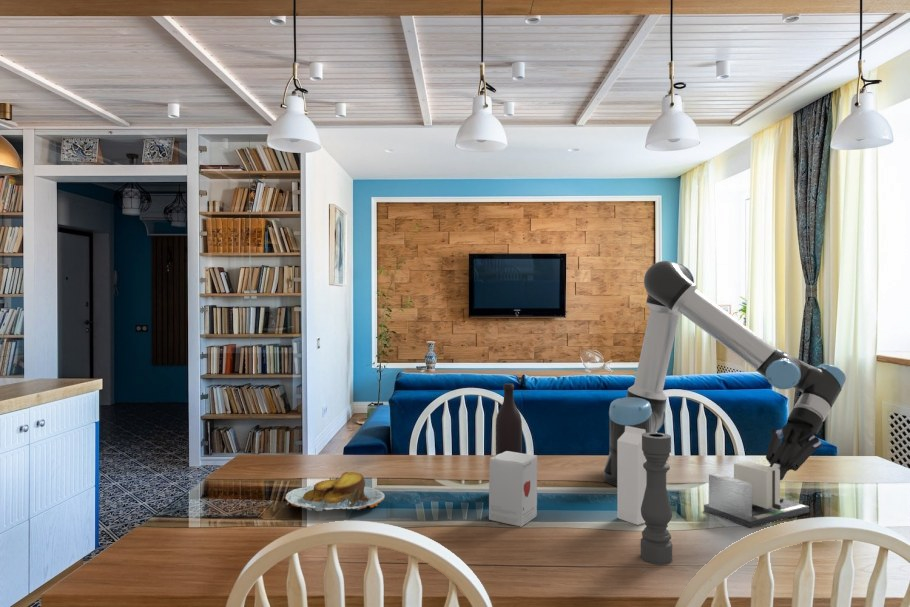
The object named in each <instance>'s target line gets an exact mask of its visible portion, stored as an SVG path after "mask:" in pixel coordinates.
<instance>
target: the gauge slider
mask: <svg viewBox="0 0 910 607" xmlns="http://www.w3.org/2000/svg"><path fill="white" fill-rule="evenodd" d="M769 466H770V465H769ZM769 466H768V465H765V464H760V463H757V462H752V461H751V460H750V461H749V460H744V461H739V462H734V463H733V478H734V479H738V480H741V481H745V482H748V483H751V484H752V504H754V505H757V506H760V507H763V508H766V509H767V508H772V507H773V508H775V509H778V510H781V505H780V498H781V480H780V469H777V468H773V467H769Z"/></svg>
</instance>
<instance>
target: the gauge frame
mask: <svg viewBox="0 0 910 607" xmlns="http://www.w3.org/2000/svg"><path fill="white" fill-rule="evenodd" d="M780 505H781V510H778V509H775V508H773V507H772V508H767V509H766V508H763V507H760V506H757V505H754V504H752V484H751V483H748V482H745V481H741V480H738V479H734V477H731V476H728V475H725V474H724V475H723V474H721V473H717V472H715V473H709V474H708V503H707V504H703V511H704V512H706V513H708V514H711V515H715V516H716V517H719V518H722V519H725V520H728V521H730V522H733V523H736V524H737V525H742V526H743V527H746V528H749V529H753V528H756V527H759V526H764V525H768V524H770V522H772V523H775V522H778V521H777V520H779V521H782V520H781V519H783V520H786V519H785V518H787V519H789V518H788V517H791V518H794V517H797V516H802V515H805V514H808V513H810V506H809V505H805V504H802V503H799V502H796V501H793V500H789V499H785V498H782V497H780ZM793 516H794V517H793ZM774 521H775V522H774ZM767 523H768V524H767ZM752 527H753V528H752Z"/></svg>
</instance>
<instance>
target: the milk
mask: <svg viewBox="0 0 910 607" xmlns="http://www.w3.org/2000/svg"><path fill="white" fill-rule="evenodd" d="M643 433H646V430H645V429H640V428H635V427H630V426H625V432H624V433H623V434H622V436H621V437H620V438H619V439H618V440H617V486H616V488H617V490H616V492H617V493H616V494H617V495H616V496H617V499H616V500H617V501H616V502H617V506H616V508H617V511H616V513H617V516H616V518H617V519H619V520H622V521H624V522H628V523H630V524H633V525H636V526H640V525H642V524H643V525H644V524H645V521H644V520H643V518H642V515H641V505H642V501H643V497H644V493H645V489H646V469H644V467H643V463H645V462H646V461H647V460H646V459H645V456H644V454H643V451H642V434H643Z"/></svg>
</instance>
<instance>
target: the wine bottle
mask: <svg viewBox="0 0 910 607" xmlns="http://www.w3.org/2000/svg"><path fill="white" fill-rule="evenodd" d="M502 387H503V388H502V389H503V402H502V403H501V407H499V410H498V412H497V415H496V418H495V456H496V455H498V454H501V453H503V452H505V451H511V452H517V453H523V424H522V422H523V421H522V417H521V414H520V411H519V409H518V407H517V405H516V403H515V398H514V390H515V385H514V383H503V386H502Z"/></svg>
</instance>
